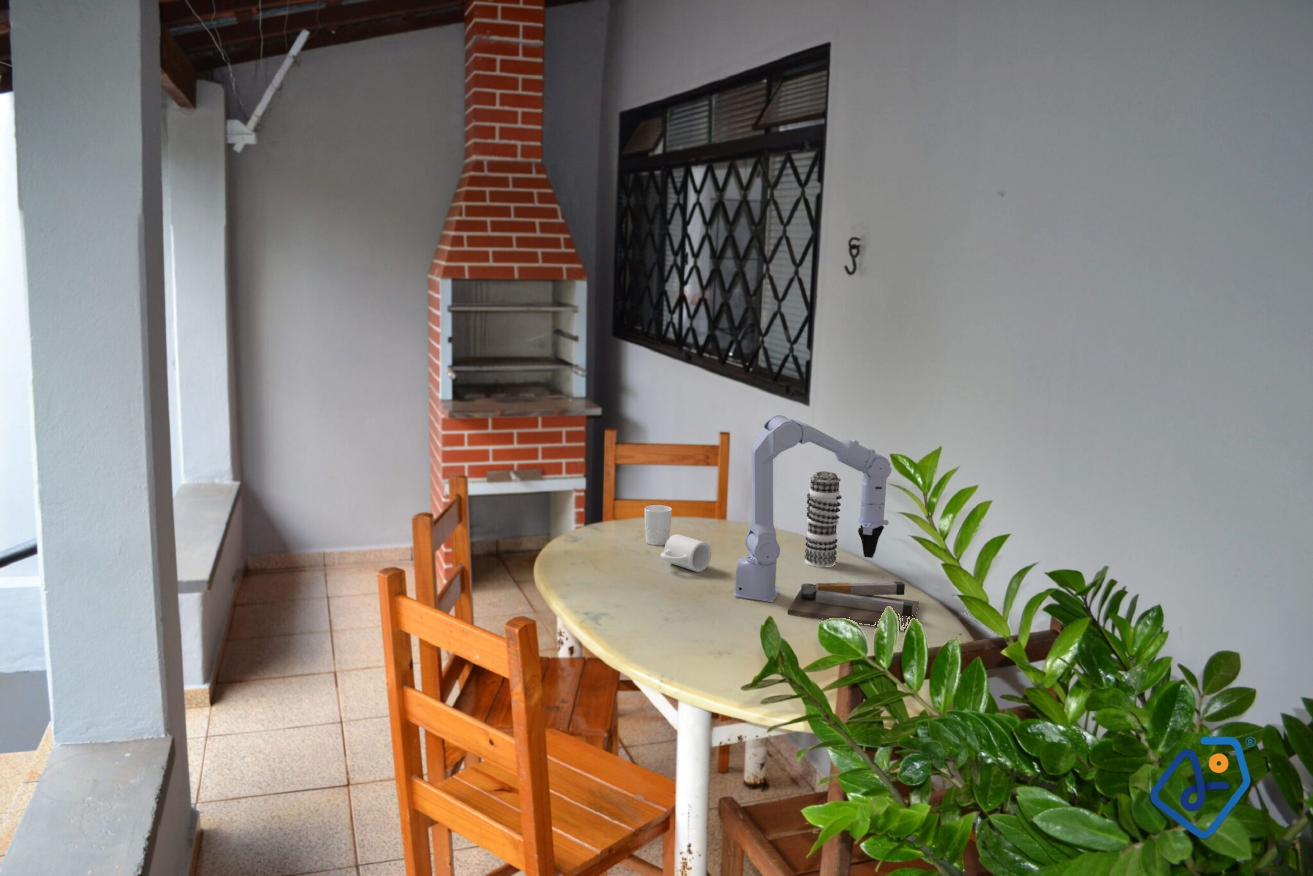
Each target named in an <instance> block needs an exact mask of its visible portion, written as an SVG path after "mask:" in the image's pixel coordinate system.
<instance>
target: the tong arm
mask: <svg viewBox="0 0 1313 876" xmlns="http://www.w3.org/2000/svg"><path fill="white" fill-rule="evenodd" d="M905 589H906V584H905V583H904V582H903V581H891V582H890V581H889V582H887V581H886V582H852V583H851V582H850V583H849V582H825V583H824V582H821V583H820V582H819V583H815V584H813V583H802V584H801V585H800V590H801V598H803V599H806V600H813V599H816V592H817V591H818V590H821V591H828V592H835V593H843V594H850V595H857V596H858V595H875V596H885V595H886V596H889V595H890V596H891V595H893V596H895V595H896V596H904V595H905Z"/></svg>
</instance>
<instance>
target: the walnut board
mask: <svg viewBox="0 0 1313 876" xmlns="http://www.w3.org/2000/svg"><path fill="white" fill-rule="evenodd" d="M858 596H864V597H872V598H879V599H886V600H894V601H901V602H909V603H913V608H912V615H913V616H910V619H908V624H909V622H910V620H911V619H912V618H915V619H916V618H917V614H916V612H917V613H918V611H917V608H918V609H919V607H918V605H919V604H920V601H918V600H910V599H902V598H895V597H888V596H883V595H858ZM882 613H883V612H879V611H872V610H865V609H858V608H851V607H844V606H837V605H830V604H823V603H816V599H813V600H806V599H803V598H801V589H800V590H799V592H798V593H797V595H796V596H795V598H794V599H793V601H792V602H791V604H790V606H789V607H788V608H787V615H790V616H798V617H805V618H812V619H817V620H825V621H827V620H826V619H829V618H846V619H850V620H853V621H855V622H857V623H858V624H859V623H862V624H863V625H862V626H864V624H870V625H874V624H875V622H876V625H875V627H874V628H878V627H877V624H878V621H879V619H880V618H881V615H882ZM915 615H916V616H915ZM897 616H898V621H899V632H901V631H900V620H899V615H898V614H897ZM902 616H903V617H902ZM849 617H850V618H849ZM908 617H909V616H907V617H906V615H900V618H901V626H902V625H903V623H904V626H903V627H905V624H906V622H907V618H908ZM822 618H823V619H822ZM902 618H903V621H902ZM859 626H861V625H860V624H859ZM907 626H908V625H907ZM907 626H906V628H907ZM906 628H905V629H904V631H903V632H905V630H906Z"/></svg>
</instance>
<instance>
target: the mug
mask: <svg viewBox="0 0 1313 876" xmlns="http://www.w3.org/2000/svg"><path fill="white" fill-rule="evenodd" d="M660 558H661V559H662V560H663V561H665V562H668V563H670V564H672V565H675V566H678V567H682V568H684V569H686V570H690V571H693V572H696V573H701V572H703V571H705V569H706V568H707V567H708V565H709V564H710V562H711V559H712V549H711V546H710V545H709V544H708V542H705V541H701V540H699V539H696V538H693V537H689V536H686V535H685V536H684V535H683V534H679V533H676V534H672V535H671V536H669V539H668V540H667V542H666V544H665V545H664V549H663V551H662V552H661V553H660Z"/></svg>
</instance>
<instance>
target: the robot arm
mask: <svg viewBox="0 0 1313 876" xmlns="http://www.w3.org/2000/svg"><path fill="white" fill-rule="evenodd" d="M799 443H800V445H804V444H807V443H812V444H814V445H816V446H817V447H821V448H823V449H825V450H827V451H830V452H831V453H833V454H834V455H835V457H836V460H837V461H838V462H839V463H842V464H844V465H846V466H848V467H850V468H852V469H854V470H856V471H858V472H861V473H862V484H861V486H862V487H861V497H860V498H861V499H860V511H859V512H860V513H859V518H858V522H859V524H860V526H859V527H858V529H857V532H858V536H859V537H860V541H861V544H862V552H863V556H864V558H869V559H873V558H874V556H875V554H876V550H877V546H878V543H879V539H880V536H881V535H882V533H883V530H884V529H885V526H888V525H889V524H890V523H889V522H890V521H889V520H887V519H885V507H886V492H887V480H888V477H890V475H891V473H892V472H893V471H892V470H893V468H892V467H891V463H890V461H889V459H888V458H886V457H885V456H882V455H881V454H879V453H877V452H876V450H875V449H873V448H871V447H870V448H866V447H865V446H863V445H860V442H859V441H858V440H856V439H852V440H850V439H845V440H841V441H840V440H838V439H836V438H834V437H832V436H830V434H829V435H828V434H827V433H825V432H823V431H821V430H819V429H817V428H814V427H813V426H811V425H810V424H807V423H805V422H801V421H798V420H796V419H794V418H793V419H792V418H790V419H789V418H788V417H787V416H784V415H781V414H777V415H774V416H772V417H770V418H769V419H768V420H767V421H766V422H764V423H763V424H762V427H761V432H760V433H759V435H758V436H757V438H756V440H755V442H754V444H753V446H752V448H751V451H750V452H751V522H750V523H749V524H748V533H747V534H746V537H745V541H744V542H745V547H746V549H747V550H748V551H749V552H748V554H747V555H746V557H739V559H738V560H737V565H736V571H735V590H734V597H736V598H742V599H747V600H748V599H749V600H756V601H763V602H769V603H770V602H771V603H773V602H774V601H775V599H776V598H777V596H778V595H779V594H780V590H779V589H776V580H777V579H776V578H777V562H778V561H777V560H778V558H779V556H780V555H781V547H780V544H779V543H778V540H777V533H776V528H775V524H774V459H776V458H777V457H778V455H780V454H781V453H782V452H785V451H787V450H789V449H792V448H794V447H795V446H797V445H798V444H799Z"/></svg>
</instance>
